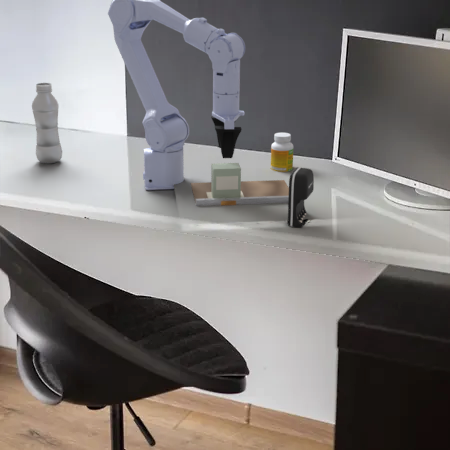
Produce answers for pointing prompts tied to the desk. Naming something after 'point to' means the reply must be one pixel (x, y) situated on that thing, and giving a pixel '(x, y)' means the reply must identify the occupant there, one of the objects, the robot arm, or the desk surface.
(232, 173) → the carton
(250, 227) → the desk surface
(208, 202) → the shelf board
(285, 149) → the supplement bottle
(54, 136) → the plastic bottle
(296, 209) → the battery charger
